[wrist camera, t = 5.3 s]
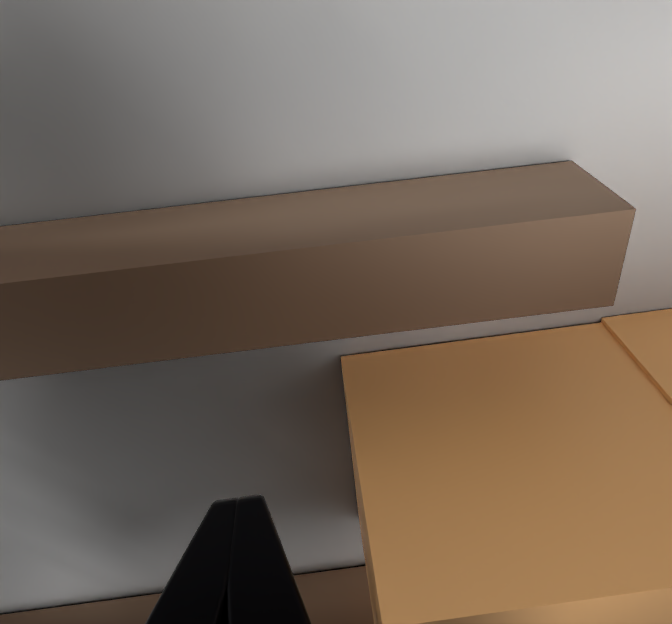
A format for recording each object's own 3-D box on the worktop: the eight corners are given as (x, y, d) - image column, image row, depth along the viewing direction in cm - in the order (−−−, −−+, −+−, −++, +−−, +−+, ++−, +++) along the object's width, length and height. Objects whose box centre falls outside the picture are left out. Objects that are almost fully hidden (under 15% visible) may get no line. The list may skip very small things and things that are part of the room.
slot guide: (506, 578, 12) (532, 650, 11) (-142, 666, 12) (-191, 751, 11) (572, 161, 7) (635, 209, 6) (-588, 294, 7) (-786, 376, 5)
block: (565, 491, 11) (694, 738, 7) (359, 520, 11) (396, 782, 7) (601, 322, 9) (808, 567, 5) (339, 356, 8) (383, 628, 5)
